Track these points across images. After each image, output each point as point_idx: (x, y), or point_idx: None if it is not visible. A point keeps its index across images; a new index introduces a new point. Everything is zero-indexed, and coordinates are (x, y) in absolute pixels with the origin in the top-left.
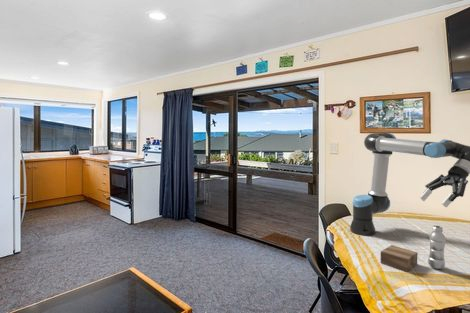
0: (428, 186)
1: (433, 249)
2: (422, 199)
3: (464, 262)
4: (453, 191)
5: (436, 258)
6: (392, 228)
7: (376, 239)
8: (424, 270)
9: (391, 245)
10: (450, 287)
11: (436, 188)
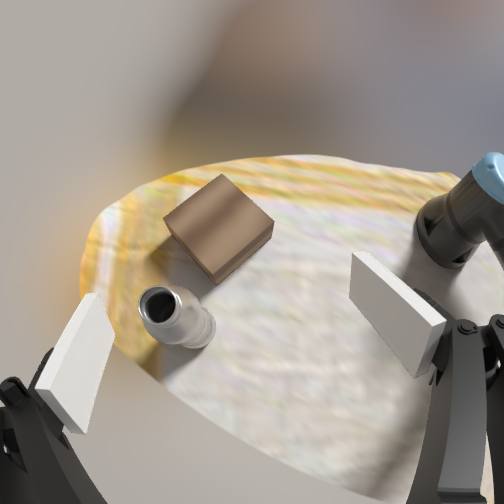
0: (476, 335)
1: (173, 302)
2: (351, 277)
3: (235, 433)
4: (31, 419)
5: (172, 312)
6: None
7: (394, 248)
8: (179, 284)
9: (270, 219)
10: (101, 294)
11: (427, 424)
